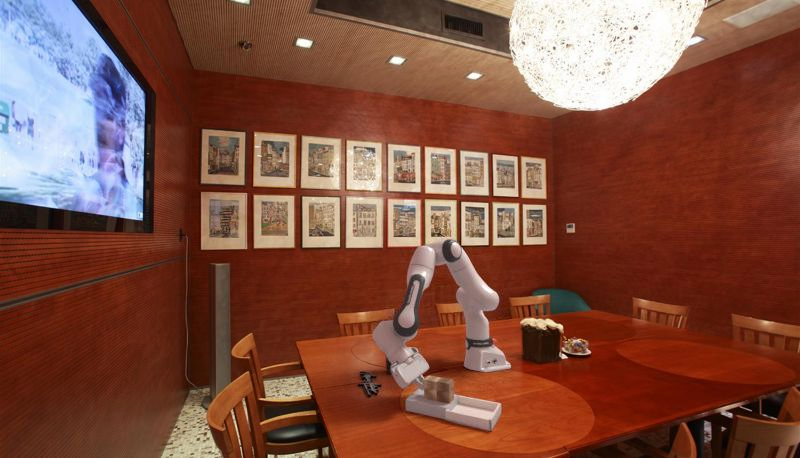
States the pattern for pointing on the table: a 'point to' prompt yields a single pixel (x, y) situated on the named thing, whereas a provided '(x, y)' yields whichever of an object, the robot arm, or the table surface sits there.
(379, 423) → the table surface
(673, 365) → the table surface
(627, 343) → the table surface
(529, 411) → the table surface
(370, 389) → the nameplate
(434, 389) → the oak block
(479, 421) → the tray
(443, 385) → the walnut block
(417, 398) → the white box cover
